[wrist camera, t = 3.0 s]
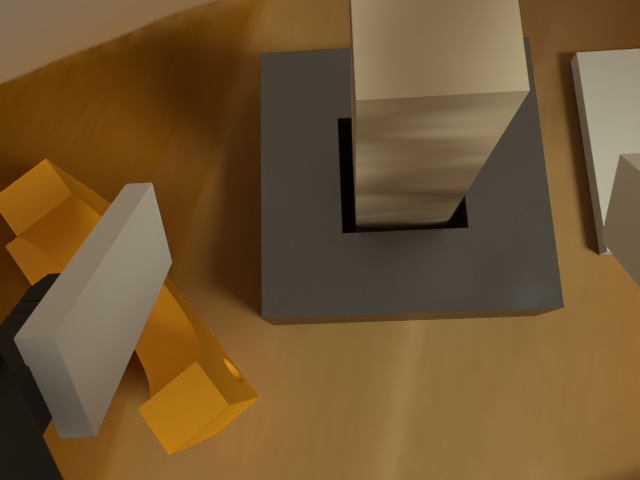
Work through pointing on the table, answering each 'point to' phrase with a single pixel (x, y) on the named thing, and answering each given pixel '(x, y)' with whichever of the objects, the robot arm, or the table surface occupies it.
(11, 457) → the robot arm
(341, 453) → the table surface
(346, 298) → the socket block
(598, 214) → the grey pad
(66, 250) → the pipe clamp
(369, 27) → the birch peg
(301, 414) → the table surface
